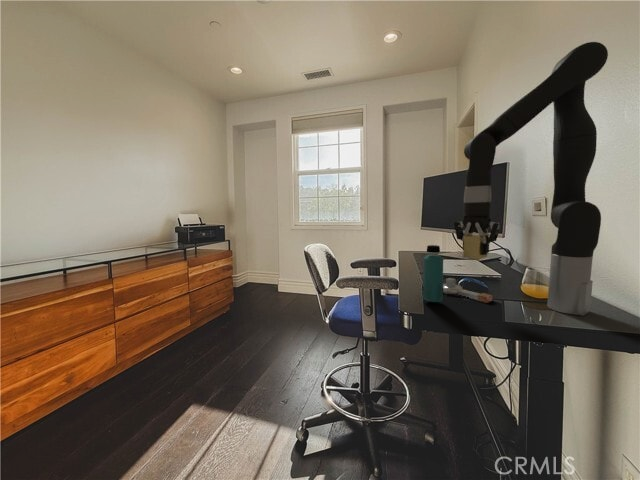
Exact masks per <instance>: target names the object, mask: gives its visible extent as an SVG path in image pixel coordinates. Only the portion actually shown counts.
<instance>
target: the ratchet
mask: <svg viewBox="0 0 640 480" xmlns="http://www.w3.org/2000/svg"><path fill="white" fill-rule="evenodd" d="M456 281H457V279H456V278H452V277H448V278H446V279H445V283H443V284H444V285H443V287H444V288H443V293H446V294H445V295H447V294H455V295H454V296H459V295H462V296H461V297H463V296H466V297H465V298H467V297H469V298H468V299H472V300H474V301H477V302H481V303H485V304H487V303H488V304H489V303H490V302H492V301H493V295H492V294H489V293H485V292H481V293H479V292H476V291H475V292H474V291H472V290H471V291H470V290H468V289H463V286H461V285H459V284H456V283H457V282H456ZM456 294H458V295H456Z"/></svg>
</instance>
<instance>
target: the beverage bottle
mask: <svg viewBox="0 0 640 480" xmlns="http://www.w3.org/2000/svg"><path fill="white" fill-rule="evenodd" d="M426 247H427V248H426V252H427V253H431V254H426V255H425V256H424V257H423V258H422V261H423V272H422V273H423V275H422V277H423V278H422V282H423V283H422V297H423V300H425V301H428V302H432V303H438V302H439V303H440V302H442V301H443V299H444V294H443V288H444V287H443V285H444V284H445V283H444V258H443V257H442V256H441V255H440V254H438V253H441V248H440V245H437V244H436V245H435V244H434V245H433V244H429V245H426ZM432 253H433V254H432Z"/></svg>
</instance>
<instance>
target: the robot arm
mask: <svg viewBox="0 0 640 480" xmlns="http://www.w3.org/2000/svg"><path fill="white" fill-rule="evenodd" d="M608 51H609V50H608V49H607V47H606V46H605V45H604V44H603V43H601V42H598V41H588V42H586V43H582V44H580V45H578V46H576V47H575V48H573V49H571V51H569V52H568V53H567V54H566V55H565V56H563V57H562V58H561V59H560V60H559V61H558V62H556V64H555V65H554V67H553V69H552V71H551V74H550V75H549V76H548V77H547V78H546V79H544V80H543V81H541V83H539V84H538V85H537V86H536V87H534V88H533V89H532V90H530V91H529V92H528V93H527V94H525V95H524V96H523V97H521V98H519V100H517V101H516V102H515V103H514V104H512V105H511V106H510V107H508V108H507V109H506V110H505V111H503V112H502V114H500V115H498V117H496V118H495V120H494V121H493V122H492V123H490V124H489V125H488V126H487V127H486V128H484V129H483V130H482V131H480V132H479V133H478V134H476V135H475V136H474V137H473V138H471V139H470V140H468V142H467V143H466V144H465V146H464V149H463V154H464V156H465V158H466V159H467V160H468V161H469V162H468V163H469V164H468V167H467V168H468V169H467V170H466V171H465V177H464V178H465V183H464V193H463V219H462V220H461V221H455V222H454V223H453V226H454V231H455V235H456V239H457V240H460V241H462V251H463V252H464V236H469V235H474V233H476V234H478V235H479V236H480V237H482V242H483V244H482V255H487V256H488V254H489V252H490V243H493V242H496V241H497V240H498V239H497V238H498V236H499V233H500V230H501V226H502V223H501V222H494V221H492V219H491V215H492V214H491V210H492V208H491V207H492V186H491V185H492V168H493V165H494V160H495V156H496V151H497V150H496V149H497V148H496V147H498V146H499V145H500V144H501V143H503V142H505V141H506V140H508V139H509V138H511V137H512V136H514V135H516V133H518V132H519V131H520V130H521V129H522V128H523V127H525V126H526V125H528V124H529V123H530V122H532V120H533V119H534V118H536V116H538V115H539V114H540V113H542V111H544V110H545V109H547V107H549V106H550V105H552V103H553V142H552V146H553V147H552V149H553V150H552V159H553V181H554V182H553V183H554V184H553V196H552V202H551V210H550V220H551V223H552V225H553V226H554V227H555V228H557V234H556V240H555V242H554V243H553V244H552V246H551V251H550V253H551V254H550V264H549V266H550V267H549V277H548V279H549V280H548V290H547V292H548V293H547V307H548V308H549V309H550V310H553V311H556V312H557V313H558V312H559V313H563V314H567V315H577V316H582V317H584V316H585V315H587V314H588V313H589V312H591V305H592V304H591V302H592V295H593V294H592V291H593V284H594V282H593V280H591V279H592V267H593V258H594V251H595V250H596V248H597V246H598V243H599V239H600V238H599V237H600V232H601V225H602V224H601V223H602V215H601V211H600V208H599V207H598V206H597V205H595V204H594V203H592V202H589V201H587V200H586V184H587V179H588V176H589V174H590V171H591V169H592V167H593V166H592V165H593V163H594V160H595V158H596V155H597V154H596V152H597V135H598V134H597V133H598V132H597V126H596V124H595V121H594V120H593V118H592V117H591V115H590V113H589V112H588V110H587V108H586V105H585V87H586V81H588V80H590V79H592V78H594V77H595V76H596V75H597V74H598V73H599V72H601V70H602V68H604V66H605V65H606V63H607V60H608V56H609V54H608V53H609V52H608ZM463 227H465V229H464V228H463ZM489 227H490V229H491V230H490V234H489V231H488V228H489ZM463 229H464V230H463Z"/></svg>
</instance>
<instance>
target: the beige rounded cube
mask: <svg viewBox="0 0 640 480" xmlns="http://www.w3.org/2000/svg"><path fill="white" fill-rule="evenodd" d="M482 244H483V242H482V237H480V236H479V234H472V235H469V236H464V251H463V254H462V255H463V258H466V259H467V258H468V259H475V260H482V259H486V258H488V254H487V255H482Z"/></svg>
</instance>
